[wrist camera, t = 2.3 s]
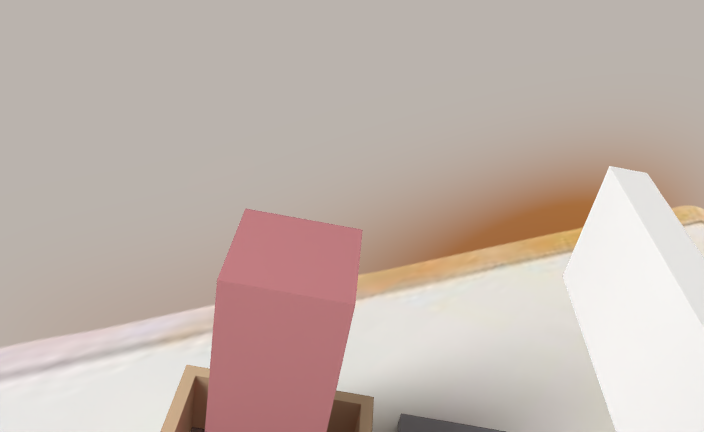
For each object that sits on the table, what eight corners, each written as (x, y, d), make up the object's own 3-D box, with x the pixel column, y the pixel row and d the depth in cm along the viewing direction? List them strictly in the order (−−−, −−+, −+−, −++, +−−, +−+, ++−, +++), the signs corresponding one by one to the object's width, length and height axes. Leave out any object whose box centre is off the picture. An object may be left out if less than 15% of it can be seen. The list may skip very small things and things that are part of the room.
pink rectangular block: (308, 478, 44) (362, 229, 34) (296, 565, 39) (355, 304, 29) (219, 463, 44) (245, 208, 34) (195, 549, 39) (217, 280, 29)
